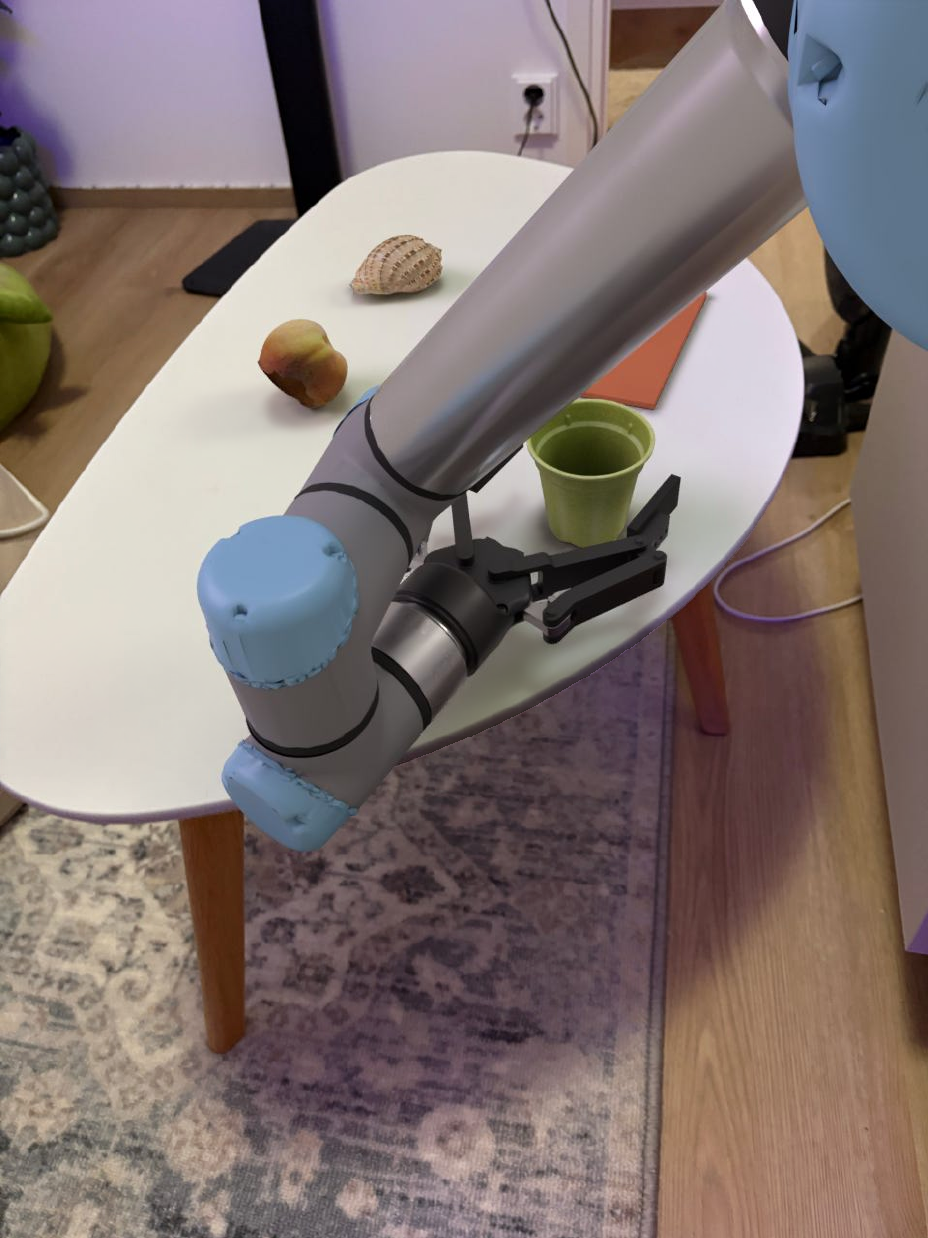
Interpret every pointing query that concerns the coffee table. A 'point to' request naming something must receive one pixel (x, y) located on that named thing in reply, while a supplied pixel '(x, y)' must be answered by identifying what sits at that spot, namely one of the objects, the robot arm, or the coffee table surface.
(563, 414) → the plant pot
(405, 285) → the seashell
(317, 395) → the fruit
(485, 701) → the coffee table surface
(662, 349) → the terracotta mat
